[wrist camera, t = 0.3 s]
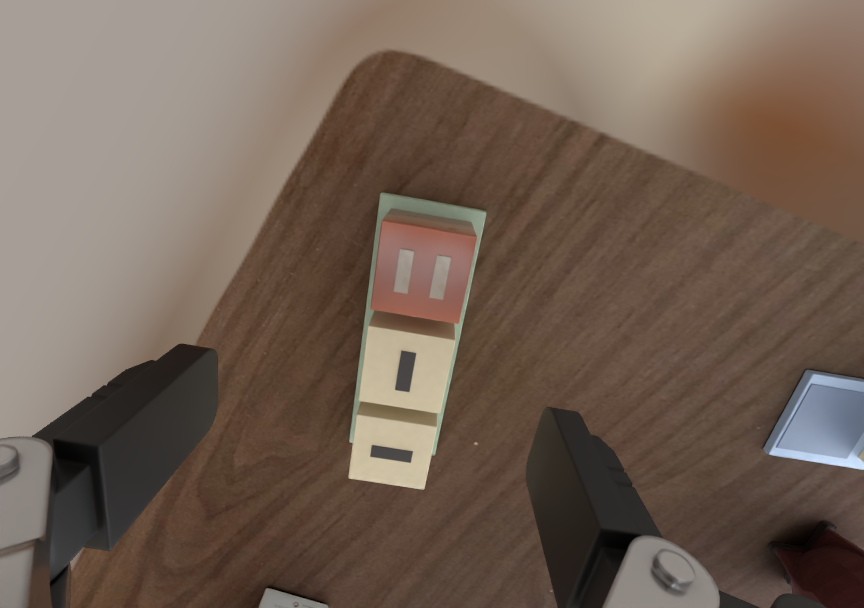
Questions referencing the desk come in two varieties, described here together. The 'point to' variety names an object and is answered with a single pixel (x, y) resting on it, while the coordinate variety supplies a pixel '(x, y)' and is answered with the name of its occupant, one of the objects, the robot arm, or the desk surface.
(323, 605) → the small box
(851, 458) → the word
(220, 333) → the desk surface
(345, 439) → the desk surface
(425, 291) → the orange cube with stripes
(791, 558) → the mate gourd
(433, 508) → the desk surface
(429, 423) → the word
